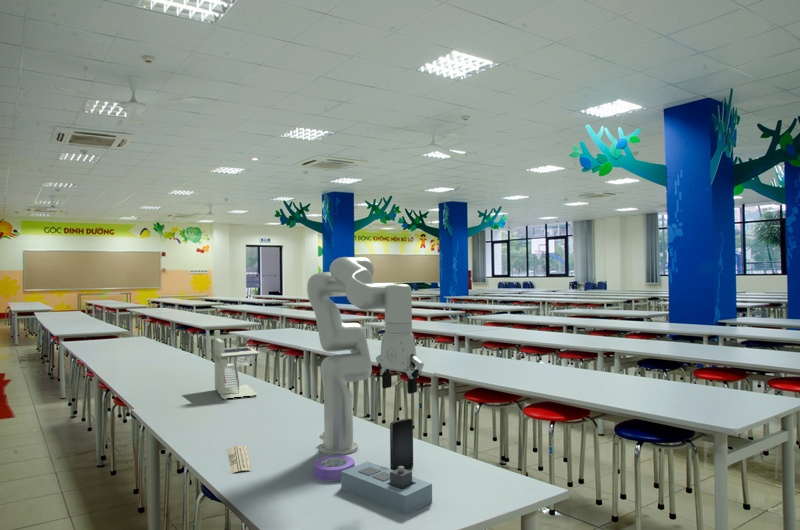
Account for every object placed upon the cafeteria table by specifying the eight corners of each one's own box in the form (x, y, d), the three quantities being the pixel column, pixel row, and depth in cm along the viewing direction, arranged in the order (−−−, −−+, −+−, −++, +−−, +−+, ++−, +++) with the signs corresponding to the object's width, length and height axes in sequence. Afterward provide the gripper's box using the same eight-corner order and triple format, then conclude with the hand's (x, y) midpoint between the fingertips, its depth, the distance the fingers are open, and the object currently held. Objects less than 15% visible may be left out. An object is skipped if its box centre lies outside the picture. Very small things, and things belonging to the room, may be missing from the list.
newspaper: (251, 474, 158) (251, 468, 159) (227, 478, 156) (226, 472, 156) (246, 450, 181) (246, 444, 181) (224, 452, 178) (224, 447, 178)
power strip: (331, 485, 148) (331, 466, 148) (358, 475, 155) (358, 457, 155) (405, 516, 129) (405, 495, 129) (432, 503, 136) (432, 482, 136)
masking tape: (326, 486, 148) (326, 472, 148) (307, 473, 158) (307, 460, 158) (362, 476, 155) (362, 463, 155) (342, 464, 165) (342, 452, 165)
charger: (390, 503, 136) (389, 467, 136) (401, 498, 139) (400, 463, 139) (401, 508, 134) (401, 471, 134) (412, 502, 136) (411, 466, 137)
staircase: (262, 395, 259) (261, 333, 259) (223, 399, 250) (222, 335, 251) (250, 384, 283) (250, 328, 283) (214, 388, 275) (214, 330, 275)
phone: (411, 467, 161) (410, 417, 161) (413, 468, 160) (412, 418, 160) (390, 473, 156) (389, 422, 156) (392, 474, 155) (391, 423, 156)
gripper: (367, 327, 151) (368, 388, 151) (412, 332, 139) (413, 397, 139) (386, 325, 157) (386, 383, 157) (430, 329, 145) (431, 392, 145)
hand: (399, 390), depth 148 cm, fingers open, 9 cm apart
